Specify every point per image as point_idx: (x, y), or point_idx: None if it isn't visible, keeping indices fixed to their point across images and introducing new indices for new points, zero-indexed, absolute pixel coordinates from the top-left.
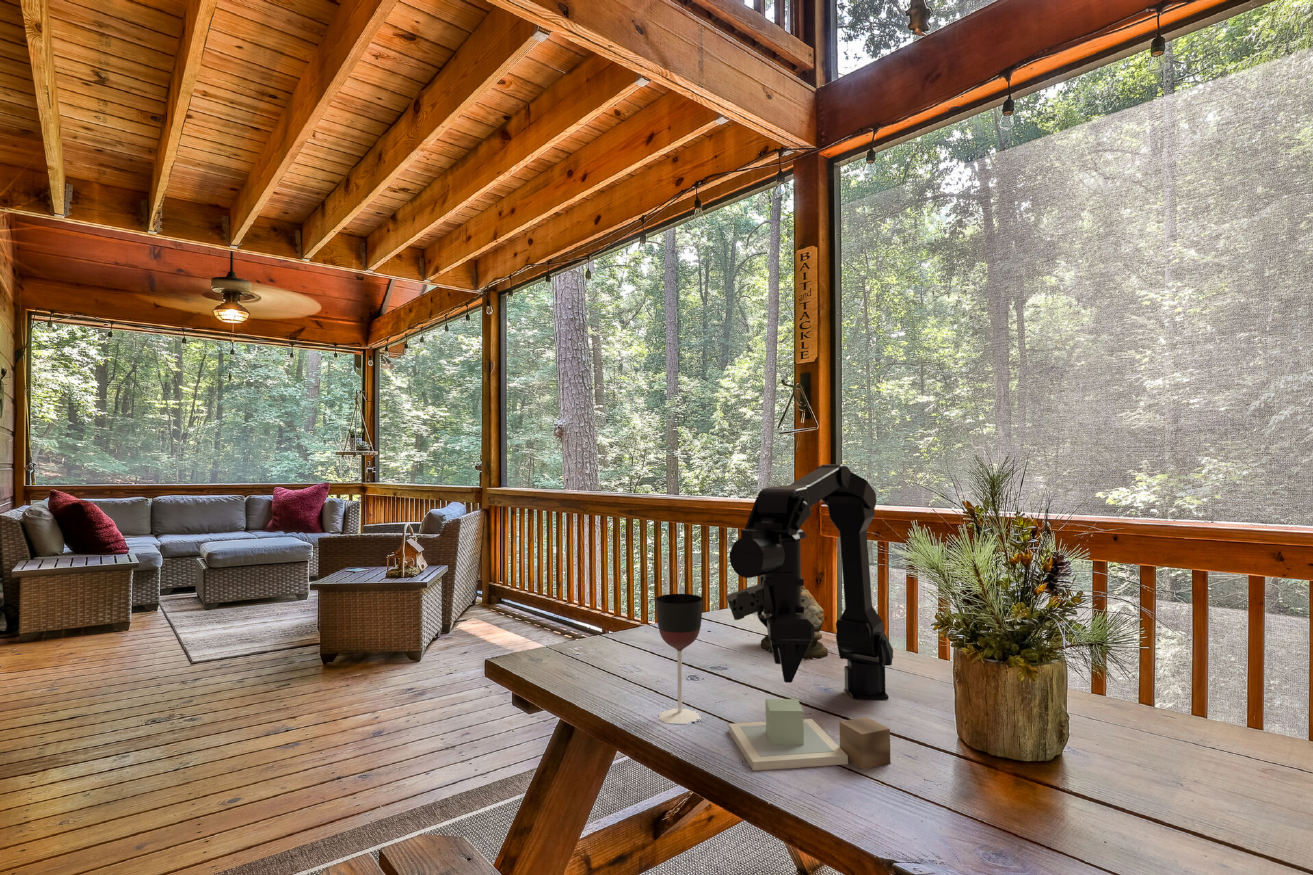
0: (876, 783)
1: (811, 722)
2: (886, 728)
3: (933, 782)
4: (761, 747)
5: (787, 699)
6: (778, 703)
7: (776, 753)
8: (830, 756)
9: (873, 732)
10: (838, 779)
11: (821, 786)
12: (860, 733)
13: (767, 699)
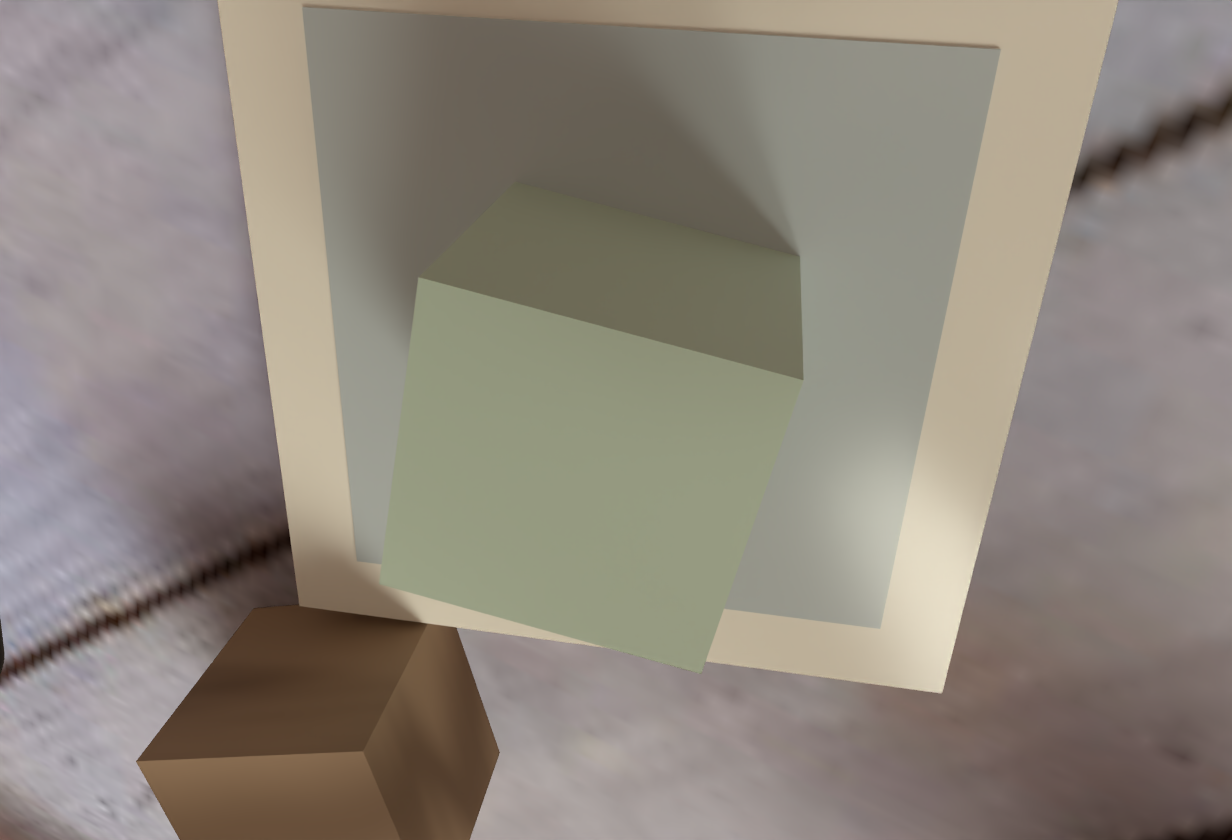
0: (100, 589)
1: (873, 661)
2: None
3: (126, 804)
4: (471, 85)
5: (723, 590)
6: (620, 457)
7: (343, 168)
8: (288, 510)
9: (175, 831)
10: (134, 435)
11: (40, 301)
12: (152, 761)
13: (779, 396)
